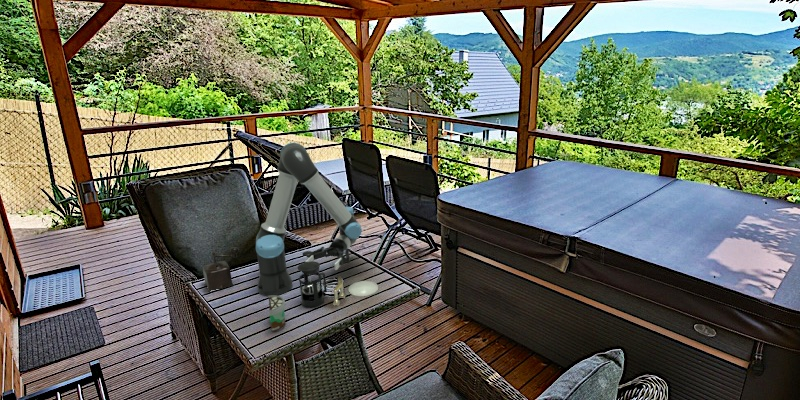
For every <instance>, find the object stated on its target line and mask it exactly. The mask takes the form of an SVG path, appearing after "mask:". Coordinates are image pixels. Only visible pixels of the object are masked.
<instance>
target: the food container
mask: <svg viewBox="0 0 800 400" xmlns="http://www.w3.org/2000/svg"><path fill="white" fill-rule="evenodd" d="M267 297H268V306H269V307H268V308H269V309H268V314H269V321H270V328H271V332H272V333H275V332H278V331H280V330H281V329H283V328H284V327H285V325H286V319H285V318H286V317H285V309H286V306H287V304H286V301H285V300H284V298H283V297H282V296H280V295H271V296H267Z"/></svg>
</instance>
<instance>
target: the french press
mask: <svg viewBox="0 0 800 400" xmlns="http://www.w3.org/2000/svg"><path fill="white" fill-rule="evenodd" d="M312 253H313V251H312V250H307V251H303V252H302V256H304V257H305V256H306V258H308V257H309V255H311V254H312ZM320 267H321V264H320V263H319V262H317V261H310V262H309V259H308V262H305V261H304V262H302V263H300V264H298V266H297V270H298V271H300V272H301V273H302V274H301V275H299V277H298V281H299V289H300V298H301V303H300V304H301V306H302V308H306V309H316V308H318V307H321V306H323V304H324V303H325V300H324V294H325V293H327V282H326V273H324V271H323V272H320ZM311 276H317V277H318V278H317V279H315V280H313V281H312V280H311ZM302 279H303V281H302ZM322 281H323V285H322ZM318 283H319V284H318ZM303 285H304V286H303ZM309 299H312V300H309Z"/></svg>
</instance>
